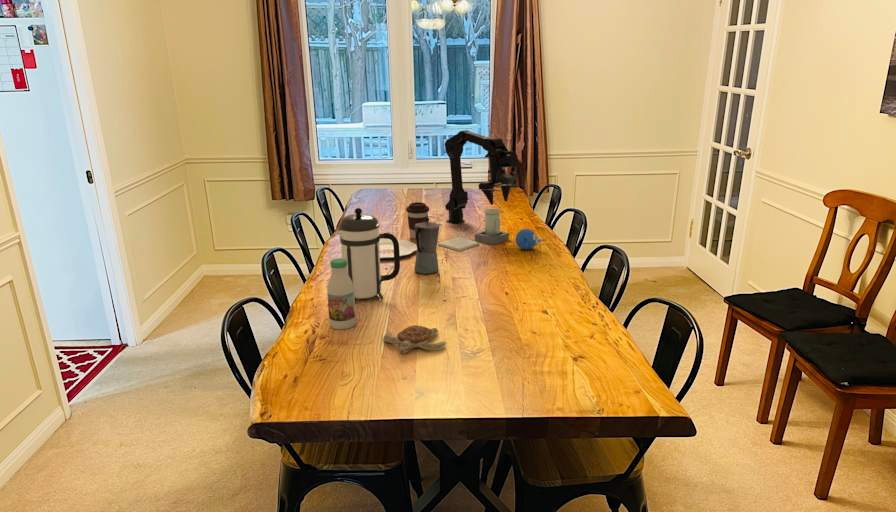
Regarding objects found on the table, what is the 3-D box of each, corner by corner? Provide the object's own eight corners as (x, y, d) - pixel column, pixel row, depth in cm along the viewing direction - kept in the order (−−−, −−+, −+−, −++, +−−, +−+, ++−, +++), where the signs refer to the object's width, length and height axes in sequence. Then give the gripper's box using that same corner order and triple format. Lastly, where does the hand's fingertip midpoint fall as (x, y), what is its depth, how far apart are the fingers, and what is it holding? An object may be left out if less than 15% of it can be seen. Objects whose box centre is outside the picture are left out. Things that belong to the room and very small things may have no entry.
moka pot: (445, 266, 219) (445, 214, 213) (431, 279, 205) (430, 225, 199) (422, 263, 222) (421, 212, 216) (406, 276, 208) (404, 223, 202)
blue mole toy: (543, 254, 231) (544, 234, 229) (514, 252, 233) (514, 232, 231) (545, 245, 242) (546, 226, 240) (516, 244, 245) (517, 224, 242)
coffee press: (369, 310, 181) (363, 216, 171) (330, 299, 189) (323, 210, 179) (402, 292, 195) (399, 204, 185) (365, 283, 203) (360, 199, 193)
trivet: (438, 245, 244) (438, 243, 244) (457, 239, 252) (457, 236, 252) (459, 251, 236) (459, 248, 236) (478, 244, 245) (478, 242, 244)
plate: (427, 247, 242) (427, 242, 242) (398, 265, 221) (398, 260, 220) (376, 240, 252) (376, 236, 252) (343, 257, 231) (343, 252, 230)
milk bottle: (331, 319, 174) (326, 256, 168) (357, 318, 175) (353, 255, 168) (328, 331, 167) (323, 265, 160) (355, 329, 167) (351, 264, 161)
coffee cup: (430, 234, 260) (430, 201, 255) (428, 240, 251) (427, 206, 246) (409, 233, 261) (408, 201, 256) (405, 240, 252) (404, 206, 247)
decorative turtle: (370, 352, 155) (369, 335, 154) (397, 327, 170) (397, 311, 168) (433, 363, 149) (433, 346, 147) (456, 336, 164) (455, 320, 162)
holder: (474, 240, 251) (474, 233, 250) (490, 235, 258) (490, 228, 257) (493, 244, 244) (493, 238, 243) (508, 239, 251) (508, 232, 250)
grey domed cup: (481, 238, 252) (481, 209, 248) (494, 236, 255) (495, 208, 251) (491, 244, 245) (492, 214, 241) (505, 242, 248) (505, 212, 243)
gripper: (495, 169, 241) (498, 207, 244) (524, 164, 253) (526, 200, 257) (476, 170, 249) (479, 206, 253) (505, 165, 261) (507, 199, 265)
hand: (499, 202), depth 256 cm, fingers open, 9 cm apart
